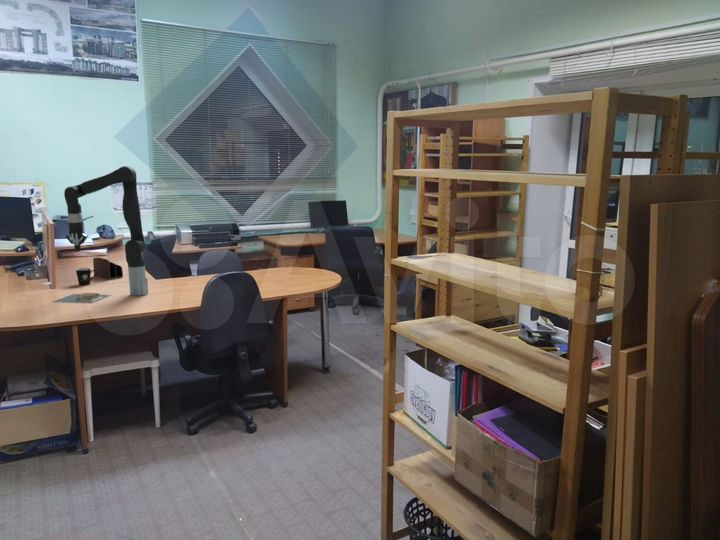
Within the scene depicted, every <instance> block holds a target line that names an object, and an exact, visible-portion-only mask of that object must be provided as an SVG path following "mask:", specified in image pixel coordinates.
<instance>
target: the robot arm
mask: <svg viewBox="0 0 720 540" xmlns="http://www.w3.org/2000/svg"><path fill="white" fill-rule="evenodd" d="M137 182H138V181H137V172H136V170H135V169H134V168H133V167H132V166H127V165H125V166H120V167H119V168H117V169H115V170H114V171H111V172H110V173H107V174H105V175H102V176H98V177H95V178H92V179H89V180H86V181H84V182H82V183H80V184H77V185H73V186H68V187H66V188H65V189H64V193H63V195H64V201H65V203H66V207H67V208H66V209H67V223H68V224H67V226H68V233H67V234H66V235H65V239H67V241H68V242H69V243H70V244H72V245H73V246H74V251H75V252H81V250H82V247H81V245H82V244H85V242H86V240H87V239H88V237H89V236H88V235H87V234H85V232H84V222H83V221H84V220H83V215H82V206H81V204H80V202H79V198H82V197H85V196H86V195H89V194H93V193H96V192H99V191H101V190H103V189H106V188H107V187H110V186H112V185H116V184H121V183H122V188H123V196H122V205H121V207H122V214H123V219H124V221H125V223H126V225H127V227H128V230H129V233H130V234H129V235H130V240H128V241H126V242H125V244H124V254H125V261H126V263H127V267H128V281H129V282H128V283H129V293H130V294H129V295H130V296H134V297H138V296H145V295H147V294H149V283H148V277H147V274H146V264H145V260H143V259H142V253H144V252H145V250H146V241H145V237H144V232H143V226H142V224H143V223H142V217H141V215H142V214H141V208H140V203H139V201H140V200H139V195H138V188H137V184H138V183H137Z"/></svg>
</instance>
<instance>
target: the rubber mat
mask: <svg viewBox="0 0 720 540" xmlns="http://www.w3.org/2000/svg"><path fill="white" fill-rule="evenodd" d="M80 294H81V293H73V294H70V295H67V296H64V297H62V298H58V299H55V300H53V301H51V303H63V304H64V303H65V304H67V303H69V304H95V302H98V301H101V300H104V299H106V298H109V297H110V296H112V295H111V294H99V298H97V299H94V300H77V295H80Z"/></svg>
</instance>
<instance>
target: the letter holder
mask: <svg viewBox="0 0 720 540" xmlns="http://www.w3.org/2000/svg"><path fill="white" fill-rule="evenodd" d="M92 261H93V262H92V263H93V264H92V265H93V270H96V271H97V275H96V271H93V276H95V275H96V276H95V277H94V278H101V279H104V280H108V281H110V280H117V279H122V277H123V278H124V273H123V267H122V266H121V265H119V264H116V263H114V262H112V261H110V260H109V259H106V258H103V257H94V258H93V259H92Z"/></svg>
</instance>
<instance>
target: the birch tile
mask: <svg viewBox="0 0 720 540" xmlns="http://www.w3.org/2000/svg"><path fill="white" fill-rule="evenodd" d="M79 294H80V295H77V300H94V299H97V298H99V295H100V293H98V292H82V293H79Z"/></svg>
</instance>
